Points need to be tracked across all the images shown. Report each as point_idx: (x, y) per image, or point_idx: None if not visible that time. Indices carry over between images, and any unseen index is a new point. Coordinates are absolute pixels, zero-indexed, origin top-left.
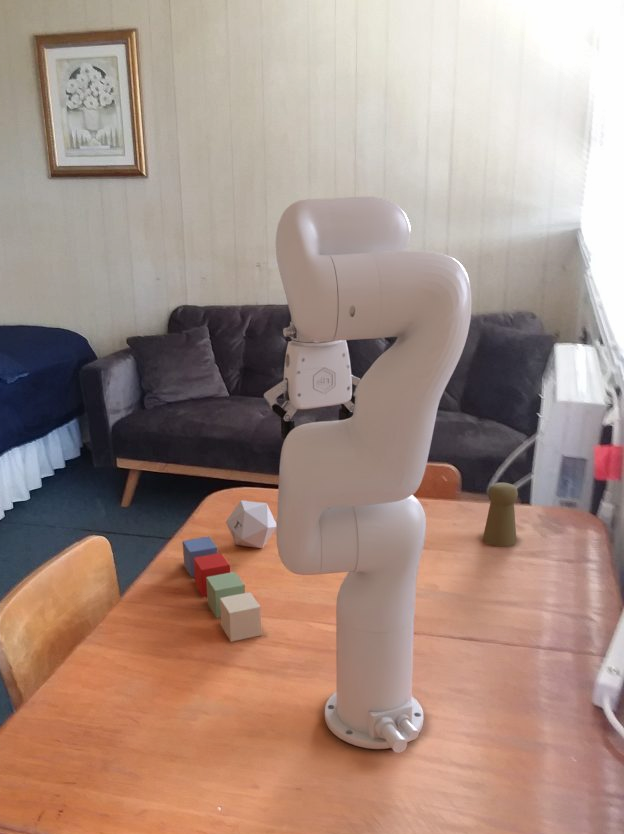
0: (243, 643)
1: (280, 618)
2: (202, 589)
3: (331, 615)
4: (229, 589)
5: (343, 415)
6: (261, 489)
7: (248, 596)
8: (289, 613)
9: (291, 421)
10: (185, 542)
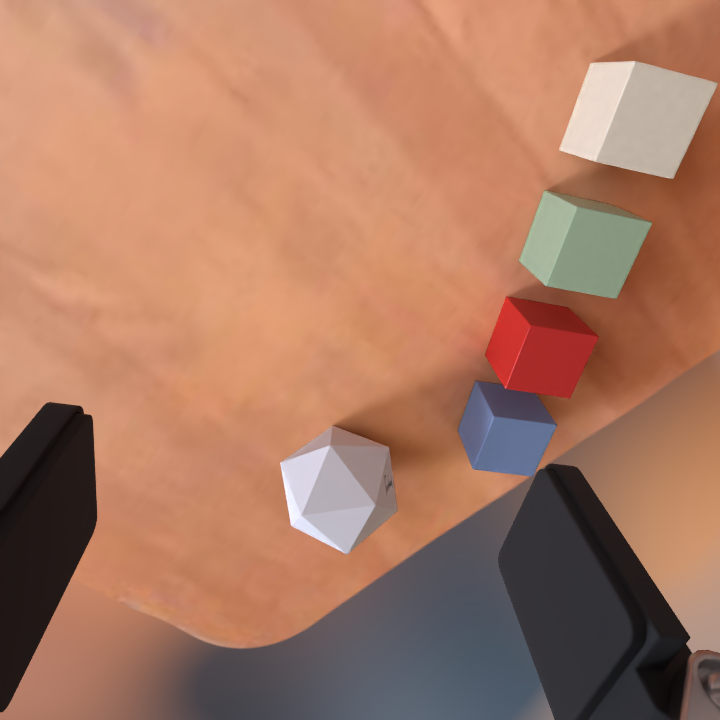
0: (647, 55)
1: (500, 112)
2: (575, 315)
3: (385, 39)
4: (614, 213)
5: (7, 607)
6: (189, 630)
7: (616, 139)
8: (466, 121)
9: (677, 635)
10: (533, 467)
